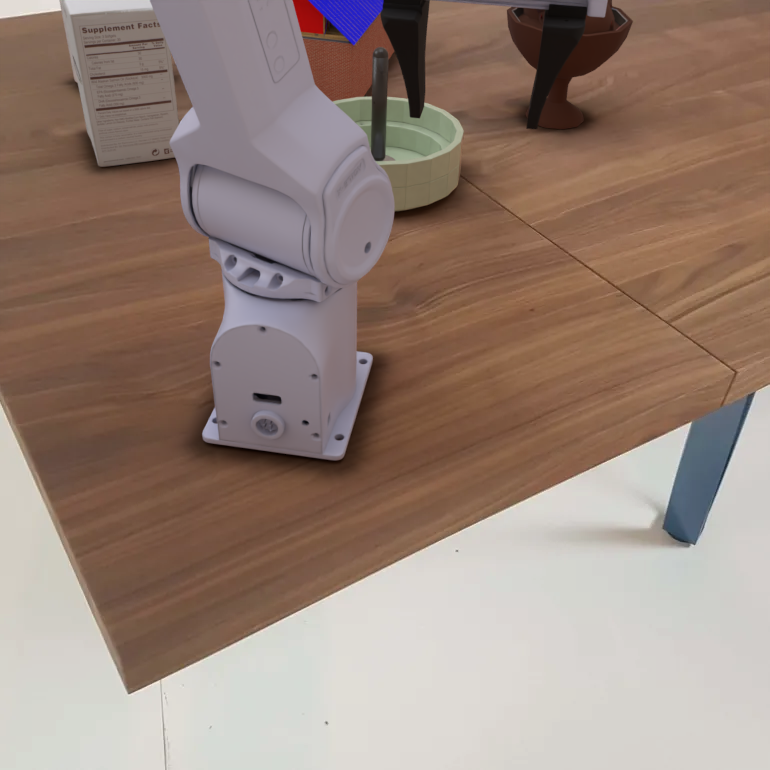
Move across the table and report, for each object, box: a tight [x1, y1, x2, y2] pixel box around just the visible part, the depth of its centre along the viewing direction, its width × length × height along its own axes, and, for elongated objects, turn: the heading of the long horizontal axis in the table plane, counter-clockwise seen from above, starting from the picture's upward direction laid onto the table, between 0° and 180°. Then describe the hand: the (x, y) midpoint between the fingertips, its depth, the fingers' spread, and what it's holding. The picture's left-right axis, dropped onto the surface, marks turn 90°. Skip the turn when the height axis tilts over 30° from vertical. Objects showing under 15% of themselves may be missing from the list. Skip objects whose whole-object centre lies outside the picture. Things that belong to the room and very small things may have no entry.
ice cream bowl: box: [506, 0, 634, 130], centre depth 83 cm, size 11×11×15 cm
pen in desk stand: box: [371, 47, 396, 161], centre depth 72 cm, size 3×3×11 cm
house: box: [293, 0, 395, 102], centre depth 91 cm, size 12×20×12 cm, turn 167°
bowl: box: [333, 96, 465, 213], centre depth 75 cm, size 13×13×4 cm
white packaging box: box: [62, 0, 180, 168], centre depth 76 cm, size 7×7×13 cm
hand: (474, 117), depth 61 cm, fingers open, 7 cm apart
